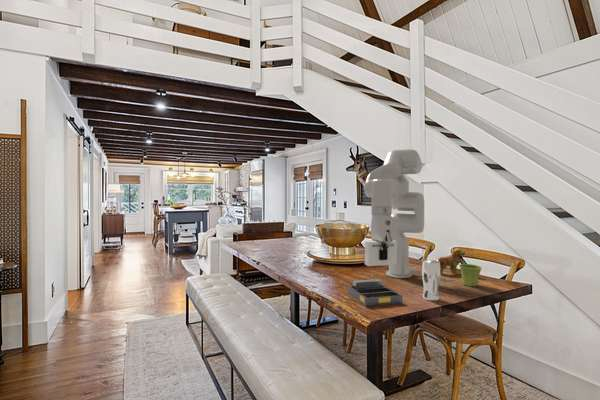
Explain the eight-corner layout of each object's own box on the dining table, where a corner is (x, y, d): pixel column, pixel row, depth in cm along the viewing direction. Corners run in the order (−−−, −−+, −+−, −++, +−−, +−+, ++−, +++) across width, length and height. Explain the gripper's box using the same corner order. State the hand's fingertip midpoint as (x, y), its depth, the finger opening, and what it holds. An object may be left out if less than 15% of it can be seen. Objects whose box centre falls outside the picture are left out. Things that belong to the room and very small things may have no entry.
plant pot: (479, 283, 154) (479, 264, 154) (483, 288, 145) (484, 269, 145) (457, 281, 157) (457, 263, 157) (460, 286, 148) (460, 267, 148)
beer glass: (418, 295, 135) (418, 259, 135) (434, 295, 136) (435, 259, 135) (426, 301, 128) (426, 263, 128) (443, 301, 129) (444, 263, 128)
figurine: (438, 275, 168) (437, 250, 168) (432, 273, 174) (431, 248, 174) (465, 274, 169) (465, 249, 169) (459, 271, 176) (458, 247, 175)
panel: (392, 262, 129) (392, 240, 129) (396, 264, 126) (397, 241, 126) (364, 264, 126) (364, 241, 126) (368, 266, 123) (368, 242, 123)
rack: (380, 290, 142) (380, 277, 142) (402, 303, 126) (402, 289, 126) (347, 292, 138) (347, 279, 138) (365, 306, 122) (366, 292, 122)
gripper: (402, 212, 119) (401, 263, 119) (379, 210, 135) (379, 254, 135) (383, 212, 117) (382, 264, 118) (363, 210, 133) (362, 255, 133)
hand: (380, 258), depth 126 cm, fingers closed on panel, 3 cm apart
